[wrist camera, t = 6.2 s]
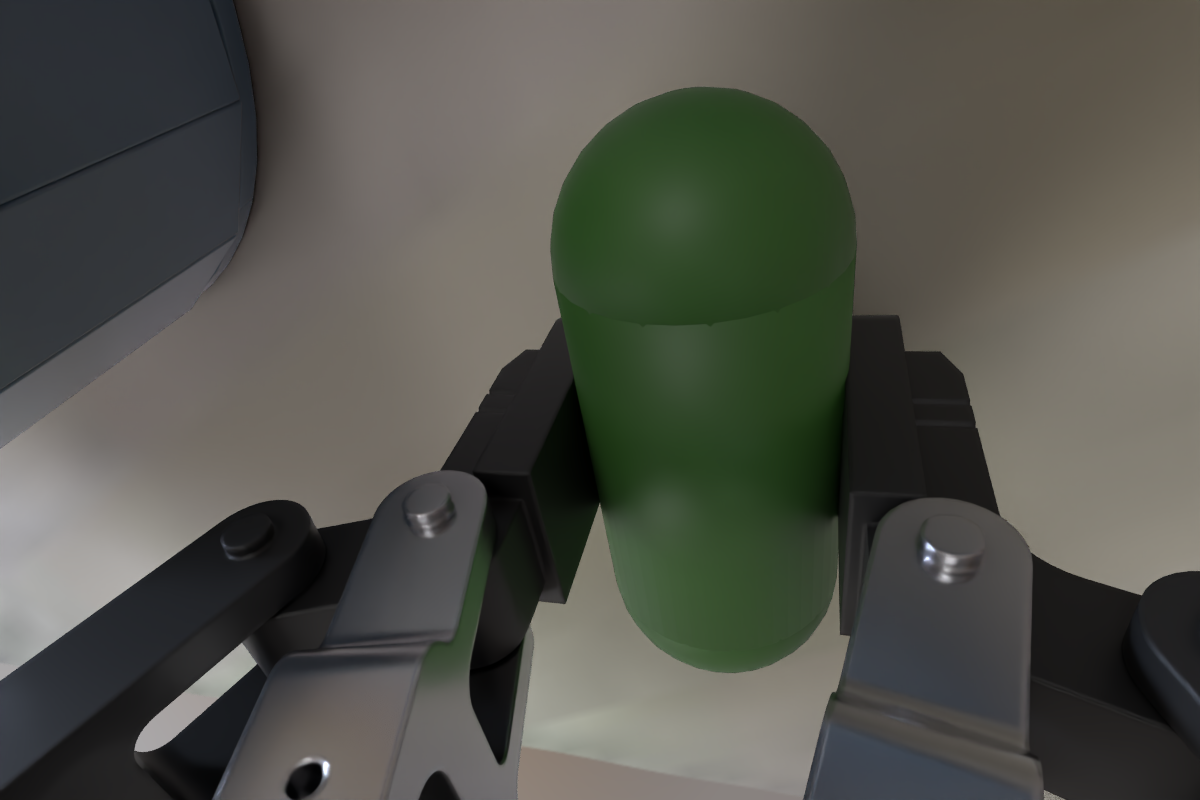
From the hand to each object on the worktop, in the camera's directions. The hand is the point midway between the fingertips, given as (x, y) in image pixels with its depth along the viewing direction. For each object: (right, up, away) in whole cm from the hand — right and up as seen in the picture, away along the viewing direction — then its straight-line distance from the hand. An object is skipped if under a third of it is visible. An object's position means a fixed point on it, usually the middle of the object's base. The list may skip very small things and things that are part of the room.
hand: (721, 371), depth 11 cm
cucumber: (0, 0, 0) cm, 0 cm away
